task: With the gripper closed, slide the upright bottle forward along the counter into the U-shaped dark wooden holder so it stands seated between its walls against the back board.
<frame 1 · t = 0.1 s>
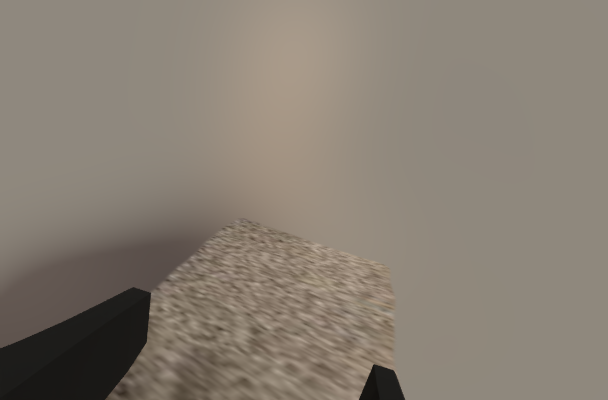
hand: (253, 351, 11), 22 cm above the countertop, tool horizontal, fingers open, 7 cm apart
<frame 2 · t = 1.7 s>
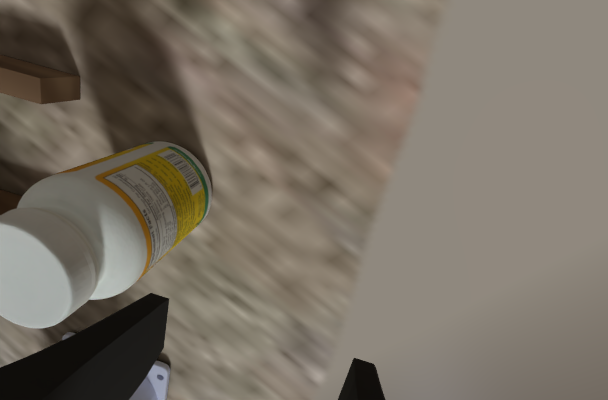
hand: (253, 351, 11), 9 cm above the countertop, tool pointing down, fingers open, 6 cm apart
supplement bottle: (171, 185, 21), on the countertop
wooden holder: (25, 144, 21), on the countertop
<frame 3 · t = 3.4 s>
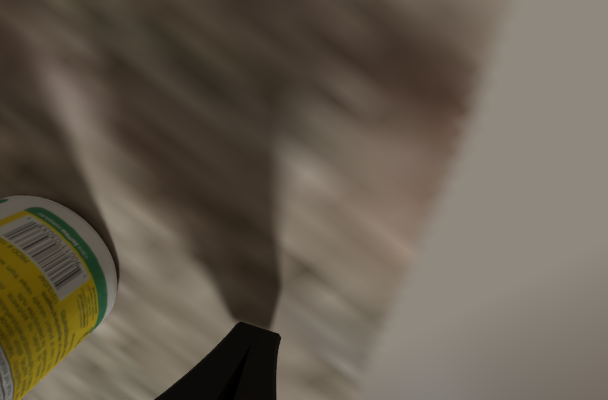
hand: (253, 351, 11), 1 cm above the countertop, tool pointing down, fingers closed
supplement bottle: (57, 259, 13), on the countertop
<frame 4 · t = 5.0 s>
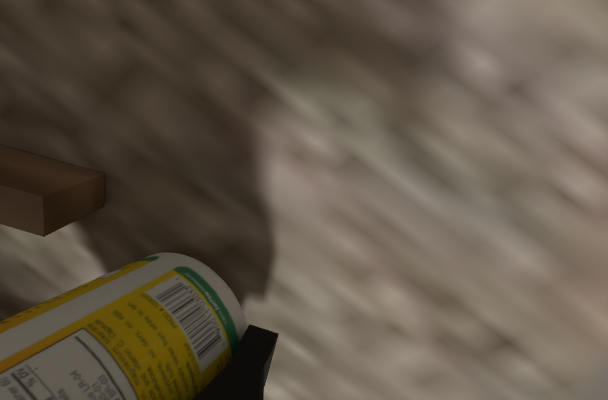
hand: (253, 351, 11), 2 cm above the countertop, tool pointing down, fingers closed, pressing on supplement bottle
supplement bottle: (192, 317, 13), on the countertop, touching gripper
wooden holder: (15, 265, 14), on the countertop
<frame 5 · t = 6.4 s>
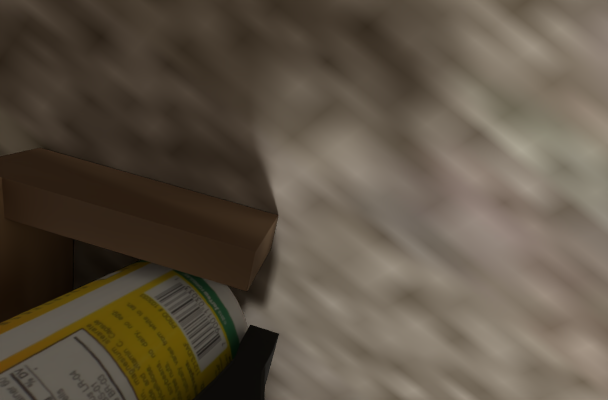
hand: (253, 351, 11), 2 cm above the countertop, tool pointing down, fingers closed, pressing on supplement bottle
supplement bottle: (192, 318, 13), on the countertop, touching gripper
wooden holder: (160, 304, 13), on the countertop
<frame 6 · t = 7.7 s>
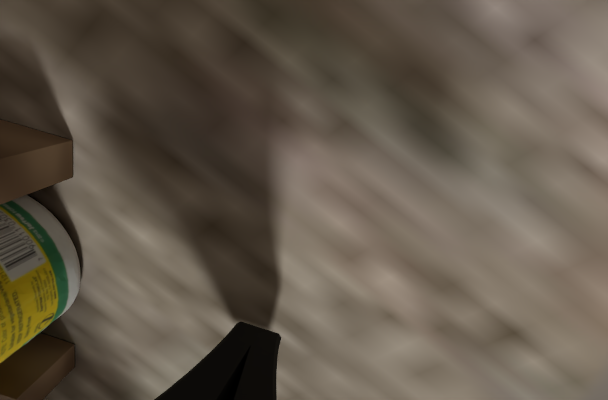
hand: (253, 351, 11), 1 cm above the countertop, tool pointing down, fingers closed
supplement bottle: (23, 250, 13), on the countertop
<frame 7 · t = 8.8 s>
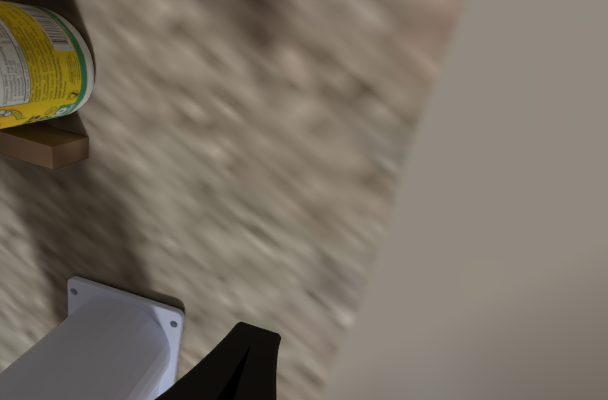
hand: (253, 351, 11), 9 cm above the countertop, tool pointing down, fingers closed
supplement bottle: (54, 63, 19), on the countertop
wooden holder: (28, 56, 19), on the countertop
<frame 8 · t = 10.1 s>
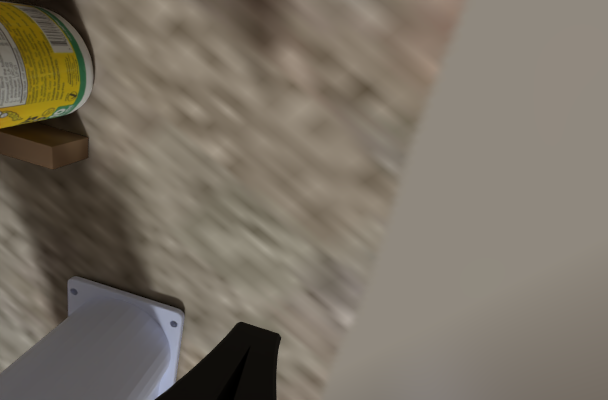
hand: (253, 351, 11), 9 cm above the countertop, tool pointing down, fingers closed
supplement bottle: (54, 63, 19), on the countertop
wooden holder: (28, 56, 19), on the countertop
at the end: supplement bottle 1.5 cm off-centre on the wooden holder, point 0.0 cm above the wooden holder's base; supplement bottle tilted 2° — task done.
